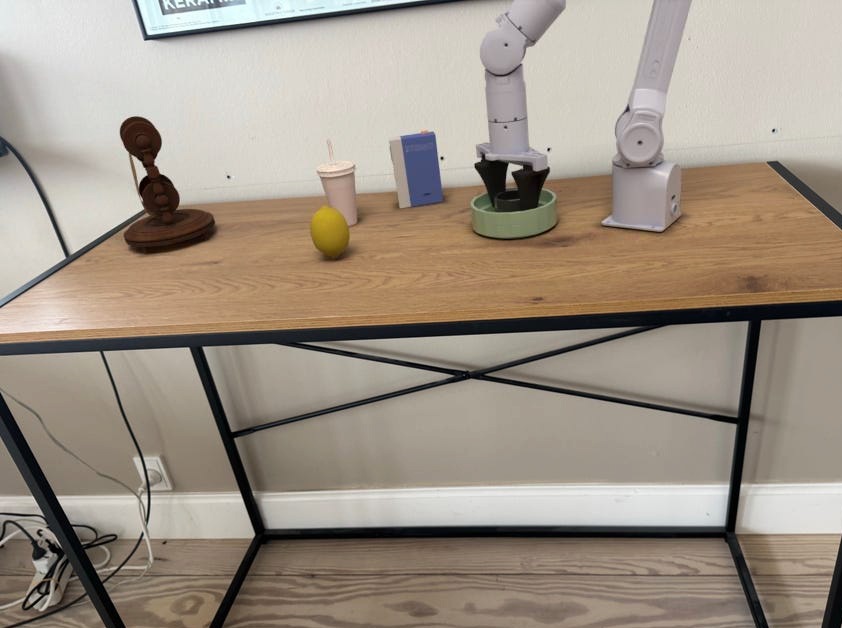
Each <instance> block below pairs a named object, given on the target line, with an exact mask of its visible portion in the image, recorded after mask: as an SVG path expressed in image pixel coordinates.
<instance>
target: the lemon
mask: <svg viewBox="0 0 842 628" xmlns="http://www.w3.org/2000/svg"><path fill="white" fill-rule="evenodd" d="M309 230H310V232H309V233H310V238H311V241H312V243H313V245H314V247H315V249H316V250H317V251H319V252H320V253H321V254H323V255H325V256H329V257H330V258H331V259H337V258H338V257H339V256H340V255H341V254H342V253H343V252H345V250H346V249H347V248H348V245H349V244H350V243H349V242H350V229H349V226H348V225H347V222H346V220H345V218H344V216H343V215H342V214H341V213H340V212H339V211H338V210H336V209H333V208H330V206H329V205H322V207H321V208H320V209H318V210H317V211H315V212H314V214H313V216H312V217H311V220H310V225H309Z"/></svg>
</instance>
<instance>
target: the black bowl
mask: <svg viewBox="0 0 842 628" xmlns="http://www.w3.org/2000/svg"><path fill="white" fill-rule="evenodd" d="M494 203H495V212H519V211H521V204H520V197H519V192H518V190H507V191H503V192H499V193H497V194H496V195H495V196H494Z"/></svg>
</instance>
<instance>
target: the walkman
mask: <svg viewBox="0 0 842 628" xmlns="http://www.w3.org/2000/svg"><path fill="white" fill-rule="evenodd" d="M388 144H389V152H390V153H389V154H390V158H391V159H390V160H391V162H392V167H393V176H394V180H395V187H396V193H397V200H398V205H399V209H405V208H412V207H418V206H425V205H431V204H437V203H443V202H444V195H443V187H442V186H443V185H442V178H441V177H442V176H441V170H440V161H439V152H438V145H437V137H436V132H434V131H429V130H428V129H426V130H421V131H420V133H412V134H404V135H398V136H391V137H389V140H388Z"/></svg>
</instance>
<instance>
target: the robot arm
mask: <svg viewBox="0 0 842 628" xmlns="http://www.w3.org/2000/svg"><path fill="white" fill-rule="evenodd" d="M692 1H693V0H653V2H652V7H651V11H650V15H649V19H648V23H647V27H646V31H645V35H644V39H643V43H642V48H641V52H640V56H639V60H638V63H637V68H636V71H635V77H634V80H633V85H632V86H631V87H632V88H631V90H630V93H629V95H628V98H627V103H626V106H625V108H624V110H623V111H622V112H621V114H620V115H619V116H618V118H617V119H616V122H615V126H614V135H615V139H616V141H615V142H616V144H615V145H616V151H617V153H616V154H614V156H612V158H611V214H610V215H609V216H607V217H606V218H605V219H603V220H602V221H601V226H604V227H605V226H607V227H615V228H624V229H632V230H641V231H648V232H649V231H650V232H658V233H662V232H664V231H665V230H666V229H667V228H669V226H671V225H672V224H673V223H674V222H675V221H676V220H677V219H679V218H680V217H681V216H682V212H681V198H682V197H681V195H682V194H681V193H682V168H681V166H680V164H678V163H675V162H671V161H670V162H669V161H667V160H665V155H664V153H663V152H662V151H663V148H664V145H665V144H664V142H665V137H664V136H665V135H664V131H663V120H664V116H665V114H666V113H665V112H666V103H667V95H668V90H669V87H670V84H671V79H672V76H673V72H674V69H675V65H676V61H677V58H678V54H679V49H680V46H681V43H682V40H683V39H682V38H683V35H684V30H685V27H686V24H687V20H688V17H689V12H690V9H691V5H692ZM566 7H567V0H514V1H513V2H512V3H511V4H510V6H509V7H507V10H506V11H504V13H498V15H497V16H496V17H495V22H496V23H497V24H498V26H496V27H494V28H491V29H490V30H488V31H487V32H486V33H485V36H484V37H483V39H482V41H481V44H480V46H479V59H480V61H481V64H482V66H483V67H484V80H485V87H484V93H485V105H486V116H487V126H488V136H489V137H488V139H489V140H488V141H489V142H487V141H486V142H481V143H478V144H475V152H476V158H478V159H480V160H479V161H477V162H474V164H473V165H474V169H475V171H476V173H478V174H479V177H480V178H481V180H482V182H483V185H484V187H485V189H486V192H488V195H489V198H490V201H491V204H492V206H493V207H495V203H494V196H495V195H496V194H497V193H499V192H503V191H506V188H507V175H508V169H509V164H511V165H516V166H519V167H522V168H520V169H517V170H514V171H513V170H512V171H511V172H510V173H511V177H512V178H513V180H514V183H515V185H516V187H517V189H518V192H519V197H520V204H521V211H526V210H530V209H535V208H537V207H538V202H539V198H540V194H541V190H542V188H543V187H544V184H545V182H546V179H548V176H549V174H550V172H551V168H550V166H549V164H548V155H547V154H544V153H542V152H539V151H538V150H537V149H535V148H533V147H531V146H530V139H529V119H528V104H527V103H528V101H527V83H526V82H525V79H524V77H525V76H524V64H523V63H522V62H523V60H524V59H525V56H526V54H527V49H528V48H531V47H534V46H535V45H536V44H537V43H538V42H539V40H540V39H541V38H542V37H543V35H545V33H546V32H547V31H548V30H549V28H550V27H551V26H552V25H553V24H554V23H555V22H556V20H558V18H559V17H560V15H562V13H563V12H564V10H566Z"/></svg>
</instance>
